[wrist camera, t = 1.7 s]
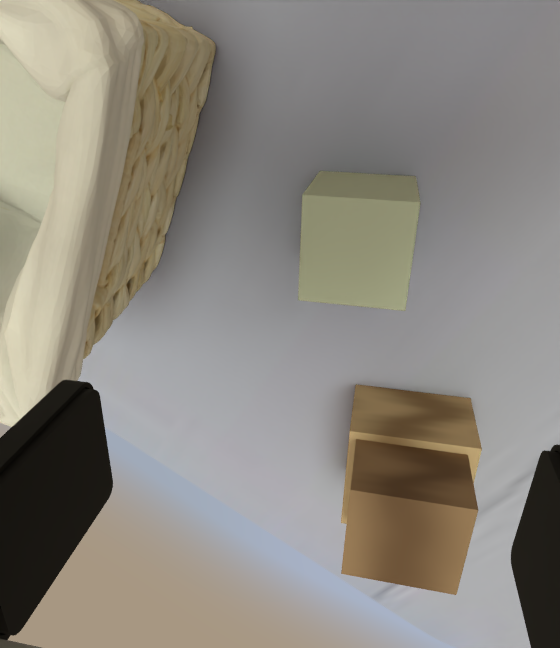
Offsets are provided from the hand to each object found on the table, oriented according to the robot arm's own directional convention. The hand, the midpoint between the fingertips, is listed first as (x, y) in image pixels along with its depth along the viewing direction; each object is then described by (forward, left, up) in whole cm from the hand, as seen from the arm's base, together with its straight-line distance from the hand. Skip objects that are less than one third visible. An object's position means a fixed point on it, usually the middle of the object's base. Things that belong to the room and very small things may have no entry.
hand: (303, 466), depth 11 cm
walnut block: (-4, +14, -15) cm, 21 cm away
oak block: (-4, +14, -20) cm, 25 cm away
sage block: (0, 0, -20) cm, 20 cm away
